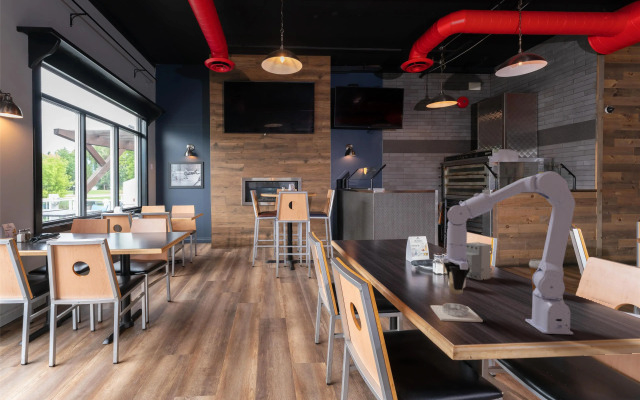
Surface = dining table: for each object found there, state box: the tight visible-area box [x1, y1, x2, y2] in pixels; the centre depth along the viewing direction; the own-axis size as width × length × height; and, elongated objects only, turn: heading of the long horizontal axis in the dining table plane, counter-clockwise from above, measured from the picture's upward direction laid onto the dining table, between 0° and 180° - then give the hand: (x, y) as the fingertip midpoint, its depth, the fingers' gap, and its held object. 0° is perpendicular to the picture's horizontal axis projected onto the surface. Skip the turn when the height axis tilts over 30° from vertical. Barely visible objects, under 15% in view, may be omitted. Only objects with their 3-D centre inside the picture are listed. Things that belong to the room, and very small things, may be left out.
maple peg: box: [448, 272, 464, 295], centre depth 108 cm, size 4×4×6 cm
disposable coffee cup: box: [528, 259, 542, 292], centre depth 132 cm, size 10×10×12 cm
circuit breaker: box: [466, 242, 493, 281], centre depth 154 cm, size 8×14×15 cm, turn 115°
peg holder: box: [430, 302, 483, 323], centre depth 108 cm, size 12×12×2 cm
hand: (455, 287), depth 108 cm, fingers closed on maple peg, 4 cm apart
